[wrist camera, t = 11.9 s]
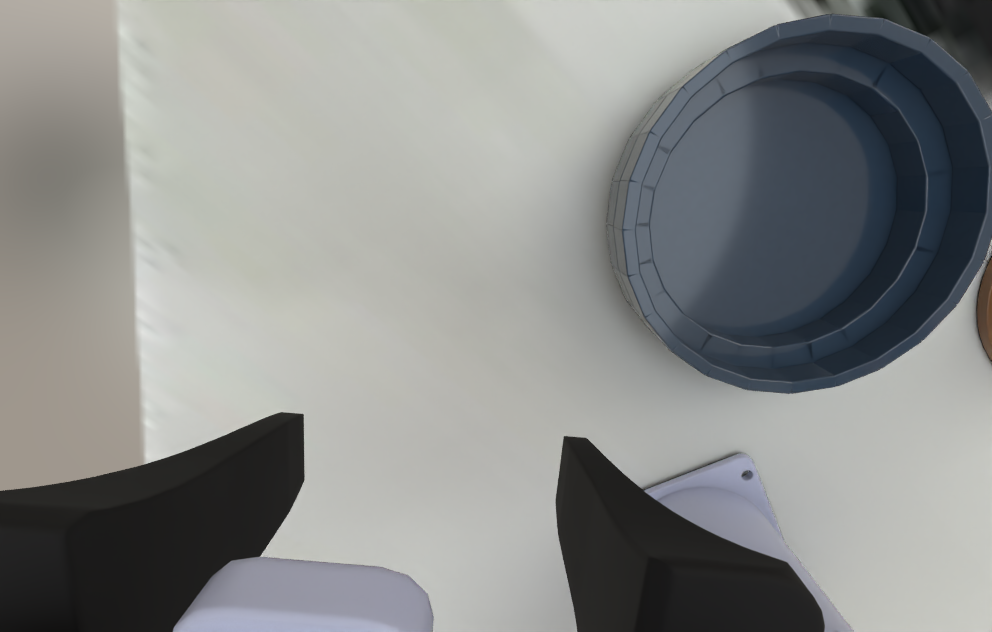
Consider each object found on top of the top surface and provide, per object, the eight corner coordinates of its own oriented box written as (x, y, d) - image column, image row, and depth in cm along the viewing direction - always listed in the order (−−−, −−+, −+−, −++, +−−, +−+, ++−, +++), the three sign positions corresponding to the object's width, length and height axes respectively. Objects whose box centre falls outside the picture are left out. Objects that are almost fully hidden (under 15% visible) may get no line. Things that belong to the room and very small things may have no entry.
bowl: (954, 289, 22) (1036, 308, 18) (668, 405, 23) (696, 443, 20) (875, -21, 19) (955, -64, 16) (555, 137, 21) (565, 128, 17)
